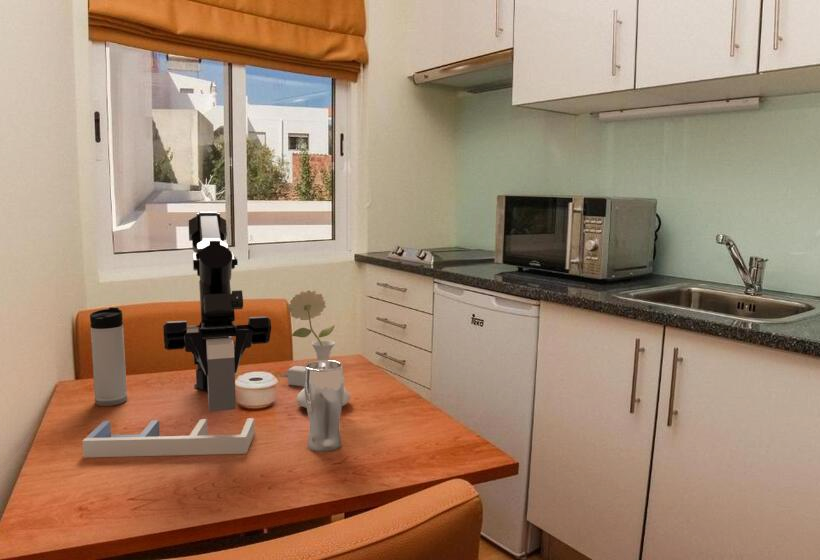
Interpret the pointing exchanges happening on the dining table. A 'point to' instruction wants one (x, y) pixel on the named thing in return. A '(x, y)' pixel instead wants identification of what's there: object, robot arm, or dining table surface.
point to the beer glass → (324, 403)
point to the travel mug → (108, 357)
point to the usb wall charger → (296, 376)
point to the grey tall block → (221, 374)
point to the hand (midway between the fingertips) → (221, 373)
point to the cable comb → (165, 442)
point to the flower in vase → (305, 309)
